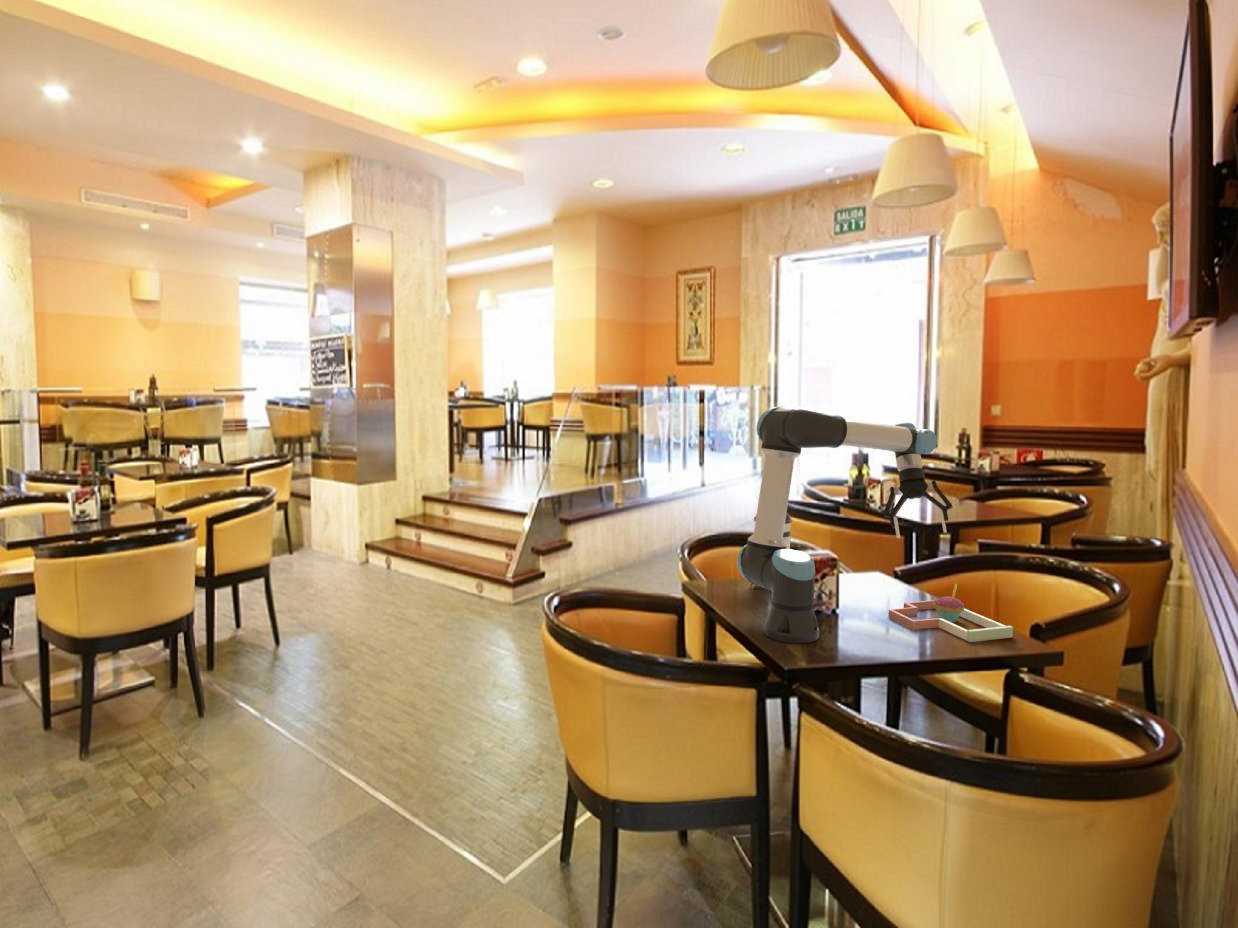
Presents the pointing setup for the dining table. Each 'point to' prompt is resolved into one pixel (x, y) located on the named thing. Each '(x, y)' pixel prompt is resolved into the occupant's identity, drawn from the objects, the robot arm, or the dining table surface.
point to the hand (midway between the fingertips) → (921, 534)
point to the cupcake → (949, 607)
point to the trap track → (988, 633)
